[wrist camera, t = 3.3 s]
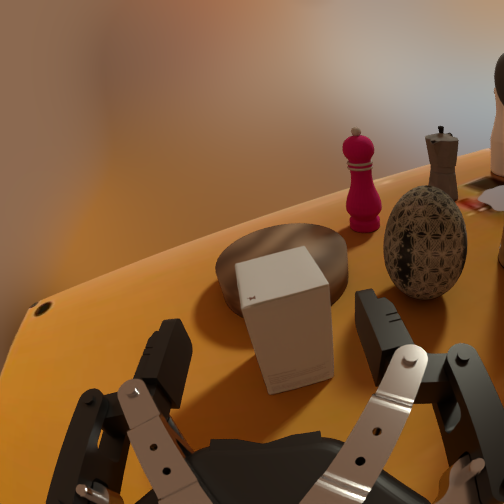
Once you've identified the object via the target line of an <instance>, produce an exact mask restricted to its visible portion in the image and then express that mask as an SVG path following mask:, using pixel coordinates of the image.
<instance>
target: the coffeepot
mask: <svg viewBox="0 0 504 504" xmlns="http://www.w3.org/2000/svg"><path fill="white" fill-rule="evenodd" d="M438 129H439V133H437V134H432V135H428V136H426V137H425V139H426V145H427V150H428V155H429V161H430V164H431V171H430V178H429V185H428V186H434V187H437V188H439V189H441V190H442V191H444V192H445V193H447V194H448V195H449V196H450V197H451V198H452V200H453V201H455V200H457V199H458V192H457V183H456V175H455V166H456V160H457V151H458V139H457V138H455V137H453V136H452V134H451V133H447V134H444V133H443V130H444V127H443V126H438Z"/></svg>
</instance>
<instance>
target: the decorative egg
mask: <svg viewBox="0 0 504 504" xmlns="http://www.w3.org/2000/svg"><path fill="white" fill-rule="evenodd" d="M466 255H467V233H466V227H465V223H464V219H463V216H462V214H461V212H460V210H459V208H458V206H457V205H456V203H455V202H454V201H453V200H452V198H451V197H450V196H449V195H448V194H447V193H445V192H444V191H442V190H441V189H439V188H437V187H434V186H428V185H425V186H419V187H416V188H413V189H412V190H410V191H408V192H407V193H406V194H404V195H403V196H402V197H401V198H400V200H399V201H398V202H397V203H396V205H395V206H394V208H393V210H392V212H391V214H390V216H389V219H388V222H387V226H386V230H385V235H384V260H385V265H386V268H387V271H388V274H389V276H390V278H391V280H392V281H393V283H394V284H395V285H396V287H397V288H399V289H400V290H401V291H402V292H403V293H405V294H406V295H408V296H410V297H412V298H416V299H433V298H436V297H439V296H441V295H443V294H444V293H446V292H447V291H448V290H450V289H451V288H452V287H453V286H454V284H455V283H456V282H457V280H458V278H459V277H460V275H461V273H462V270H463V268H464V264H465V260H466Z"/></svg>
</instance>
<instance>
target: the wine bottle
mask: <svg viewBox="0 0 504 504" xmlns="http://www.w3.org/2000/svg"><path fill="white" fill-rule="evenodd" d="M494 94H495V97H496V98H495V99H496V117H495V122H494V126H493V130H492V134H491V171H492V172H493V173H494V174H496V175H499V176H502V177H504V106H503V104H502V103H501V101H500V99H499V97H498V94H497V91H496V88H494Z"/></svg>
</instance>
